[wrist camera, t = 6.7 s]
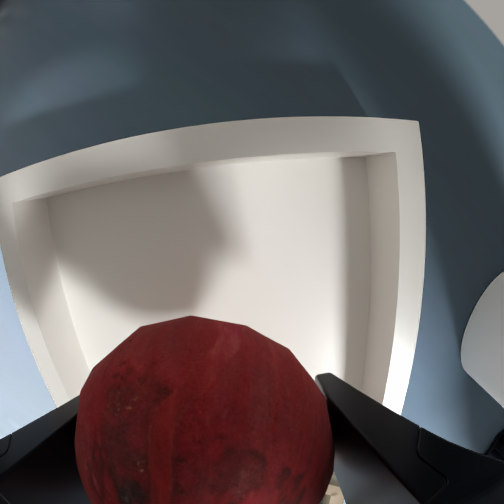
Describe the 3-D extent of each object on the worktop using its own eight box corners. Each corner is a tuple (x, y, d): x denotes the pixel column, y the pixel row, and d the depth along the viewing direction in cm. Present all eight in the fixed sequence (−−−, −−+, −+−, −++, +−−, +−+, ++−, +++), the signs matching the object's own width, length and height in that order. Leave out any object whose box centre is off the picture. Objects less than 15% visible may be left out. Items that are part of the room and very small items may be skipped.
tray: (377, 133, 10) (418, 121, 7) (367, 419, 13) (387, 456, 10) (38, 178, 10) (-8, 179, 7) (115, 437, 13) (100, 475, 10)
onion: (102, 301, 9) (-62, 482, 1) (276, 250, 9) (424, 538, 1) (171, 429, 10) (135, 606, 2) (315, 398, 10) (379, 594, 2)
